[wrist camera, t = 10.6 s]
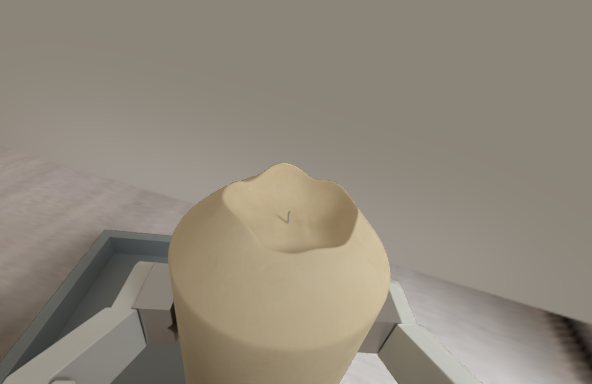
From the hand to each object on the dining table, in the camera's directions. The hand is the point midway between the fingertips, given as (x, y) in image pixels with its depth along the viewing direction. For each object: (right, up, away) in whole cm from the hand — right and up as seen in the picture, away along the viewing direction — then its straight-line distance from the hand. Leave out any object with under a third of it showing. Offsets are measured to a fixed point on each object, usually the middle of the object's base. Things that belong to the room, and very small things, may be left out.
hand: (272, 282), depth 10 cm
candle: (-1, -5, +3) cm, 6 cm away
